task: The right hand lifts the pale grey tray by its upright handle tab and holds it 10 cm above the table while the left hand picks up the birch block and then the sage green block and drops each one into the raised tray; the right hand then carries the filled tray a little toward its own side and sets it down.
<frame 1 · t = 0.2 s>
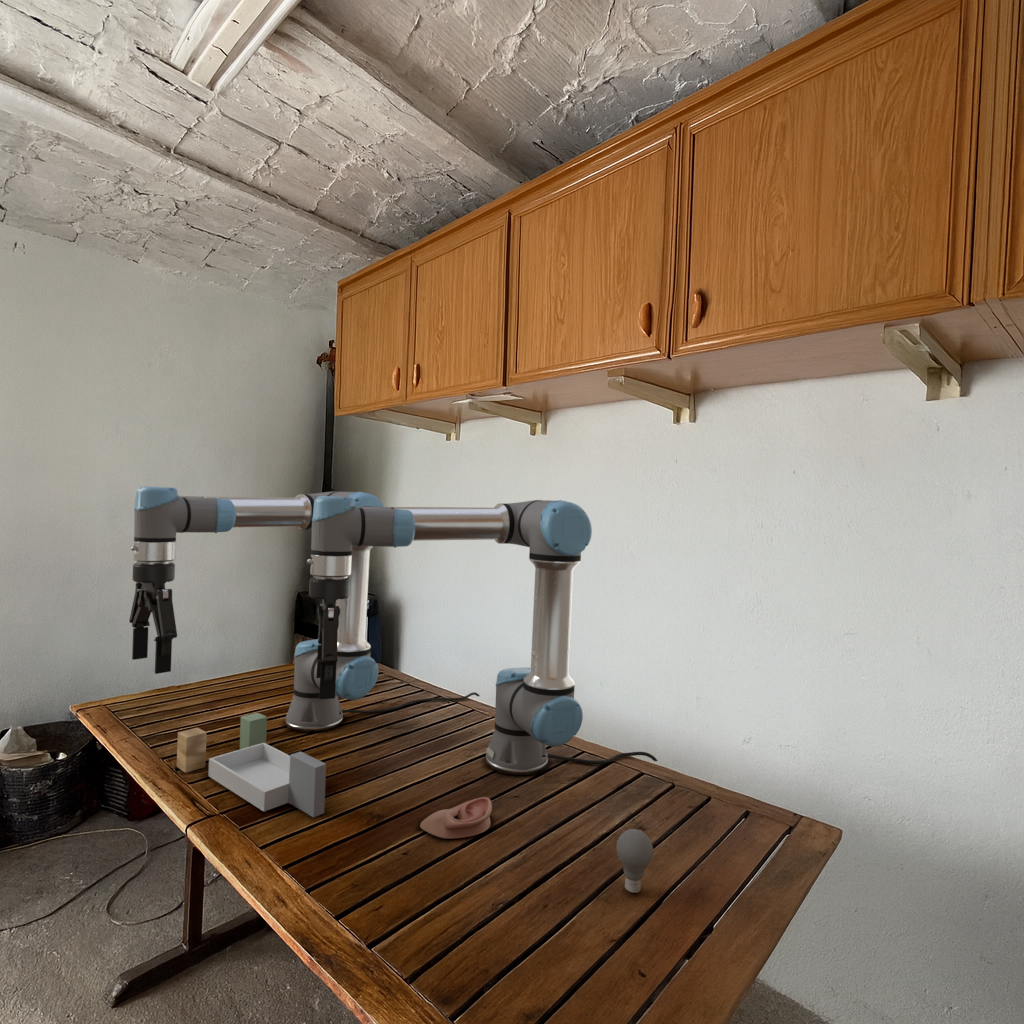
left hand: (150, 665, 130), 27 cm above the table, fingers open, 13 cm apart
right hand: (325, 687, 121), 27 cm above the table, fingers open, 13 cm apart
fossil: (333, 681, 216), on the table
birch block: (191, 767, 145), on the table
sage block: (252, 748, 157), on the table
light bulb: (632, 891, 106), on the table
anatomical model: (456, 825, 125), on the table
tray: (263, 783, 139), on the table
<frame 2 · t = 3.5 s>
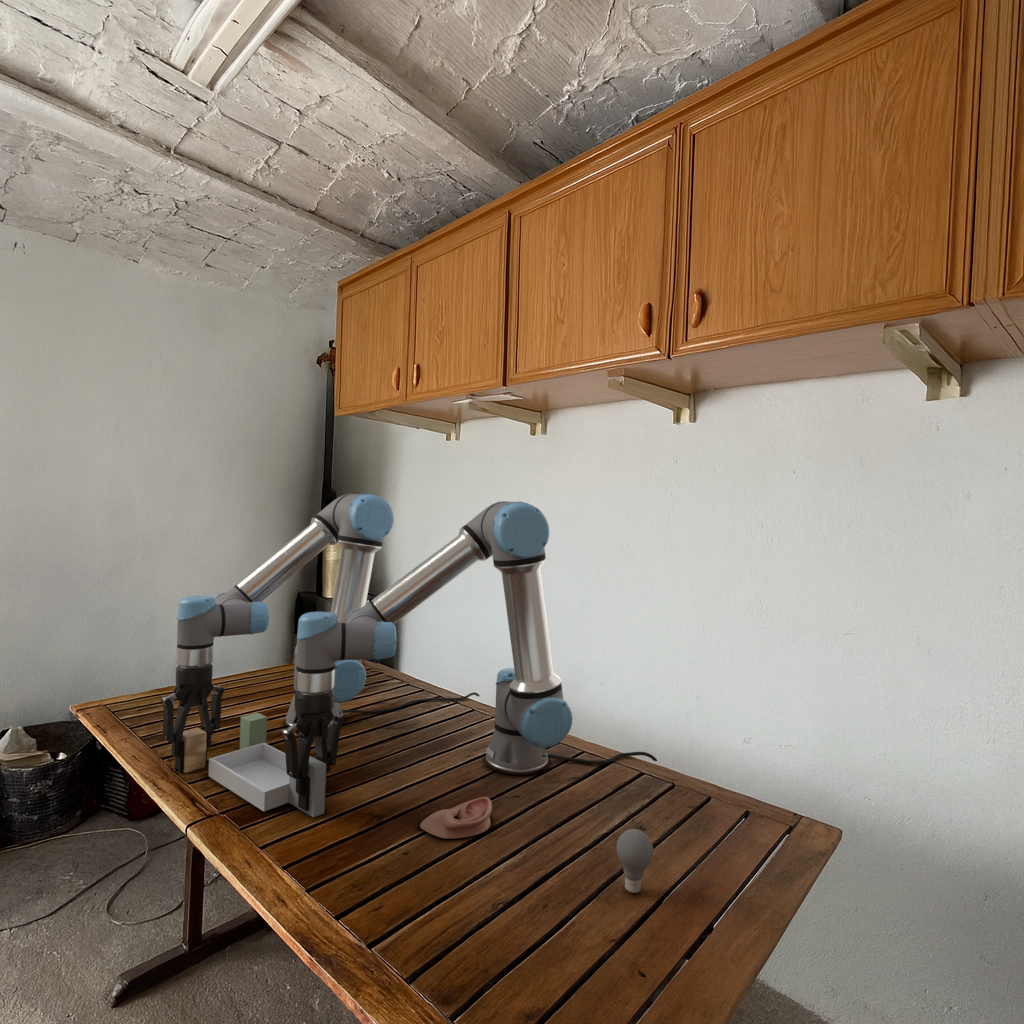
left hand: (191, 765, 145), 0 cm above the table, fingers closed on birch block, 4 cm apart
right hand: (310, 805, 128), 1 cm above the table, fingers closed on tray, 2 cm apart
birch block: (191, 767, 145), on the table, touching left hand
tray: (263, 783, 139), on the table, touching right hand
everything else where it was.
when the left hand's fingers open (18 cm above the table, at t = 7.5 s): birch block drops 8 cm, resting on tray.
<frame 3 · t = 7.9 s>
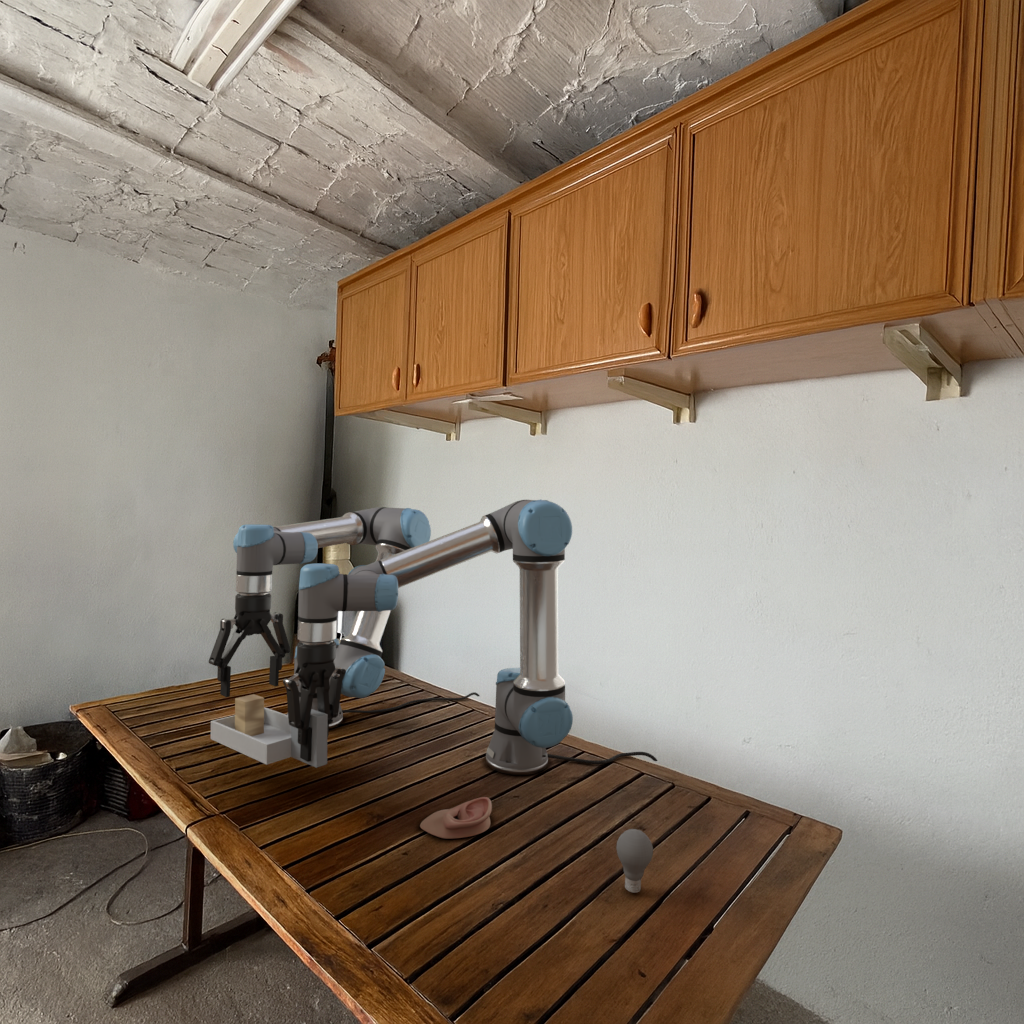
left hand: (250, 690, 143), 19 cm above the table, fingers open, 11 cm apart
right hand: (312, 756, 128), 11 cm above the table, fingers closed on tray, 2 cm apart
birch block: (249, 733, 143), point 9 cm above the table, touching tray
tray: (266, 742, 139), point 9 cm above the table, touching birch block, right hand
everything else where it was.
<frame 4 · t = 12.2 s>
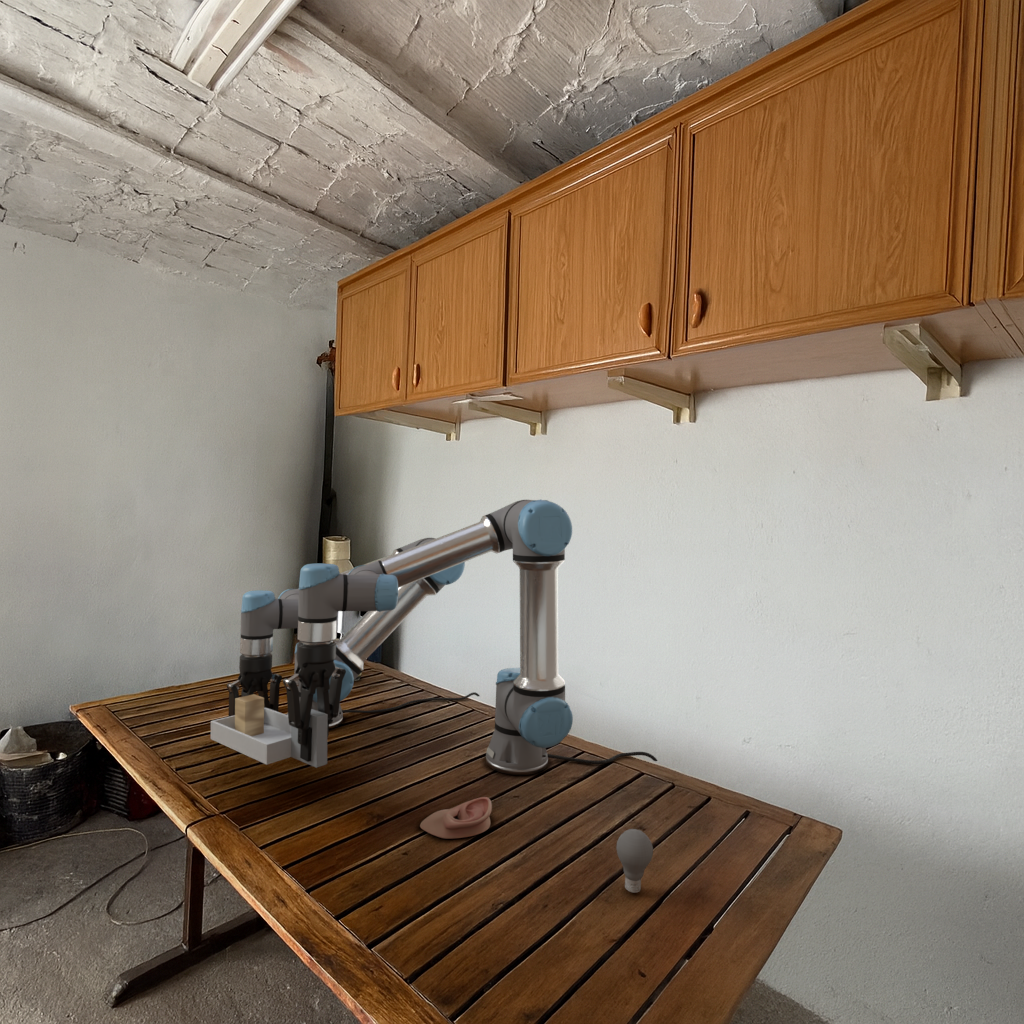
left hand: (252, 747, 157), 0 cm above the table, fingers closed on sage block, 4 cm apart
right hand: (312, 756, 128), 11 cm above the table, fingers closed on tray, 2 cm apart
sage block: (252, 748, 157), on the table, touching left hand
tray: (266, 742, 139), point 9 cm above the table, touching birch block, right hand
everything else where it was.
when the left hand's fingers open (18 cm above the table, at t = 16.2 s): sage block drops 9 cm, resting on tray.
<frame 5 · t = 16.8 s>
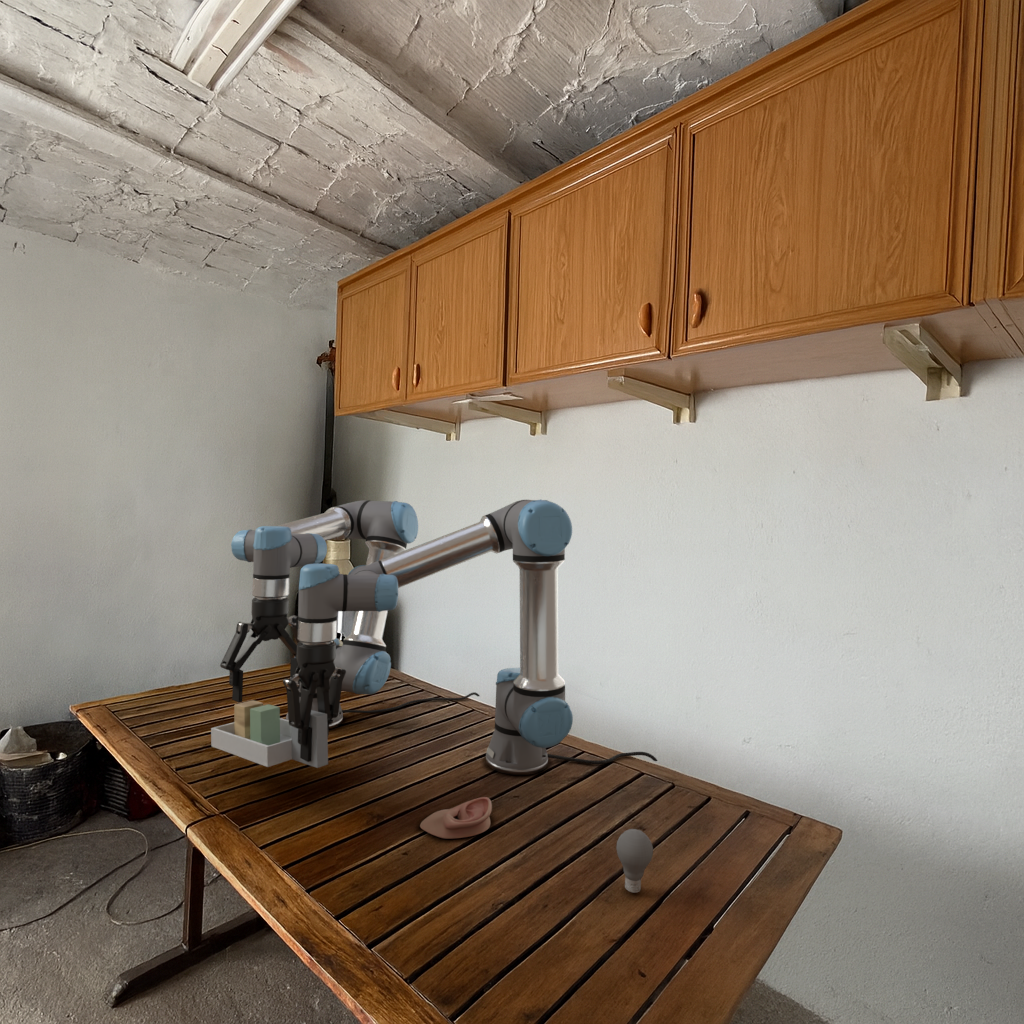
left hand: (266, 694, 139), 20 cm above the table, fingers open, 13 cm apart
right hand: (312, 756, 128), 11 cm above the table, fingers closed on tray, 2 cm apart
birch block: (249, 739, 143), point 8 cm above the table, tilted 6°, touching tray
sage block: (265, 744, 139), point 9 cm above the table, tilted 5°, touching tray
tray: (266, 747, 138), point 8 cm above the table, tilted 6°, touching birch block, right hand, sage block
everything else where it was.
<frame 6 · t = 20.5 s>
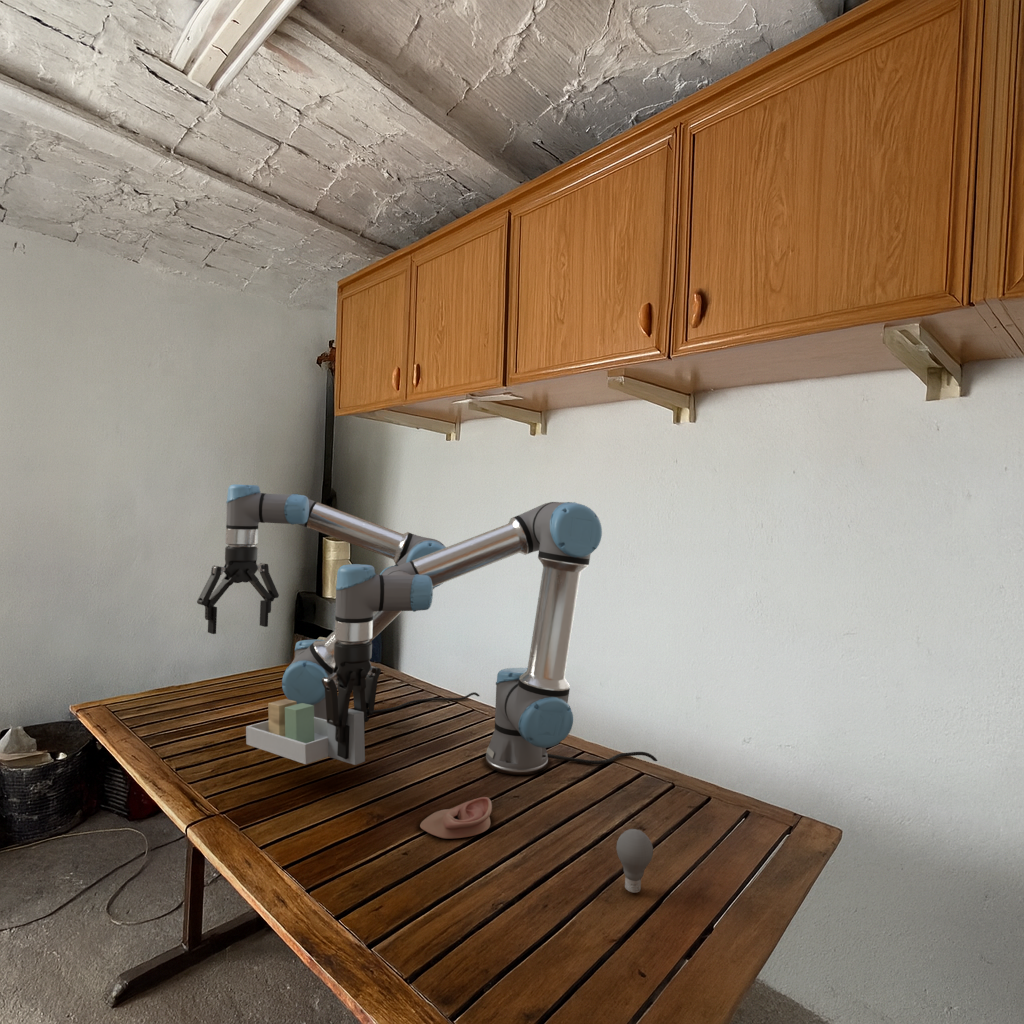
left hand: (238, 629, 160), 29 cm above the table, fingers open, 13 cm apart
right hand: (349, 754, 130), 11 cm above the table, fingers closed on tray, 2 cm apart
birch block: (283, 737, 145), point 8 cm above the table, tilted 6°, touching tray
sage block: (300, 742, 141), point 8 cm above the table, tilted 6°, touching tray
tray: (301, 745, 141), point 8 cm above the table, tilted 6°, touching birch block, right hand, sage block
everything else where it was.
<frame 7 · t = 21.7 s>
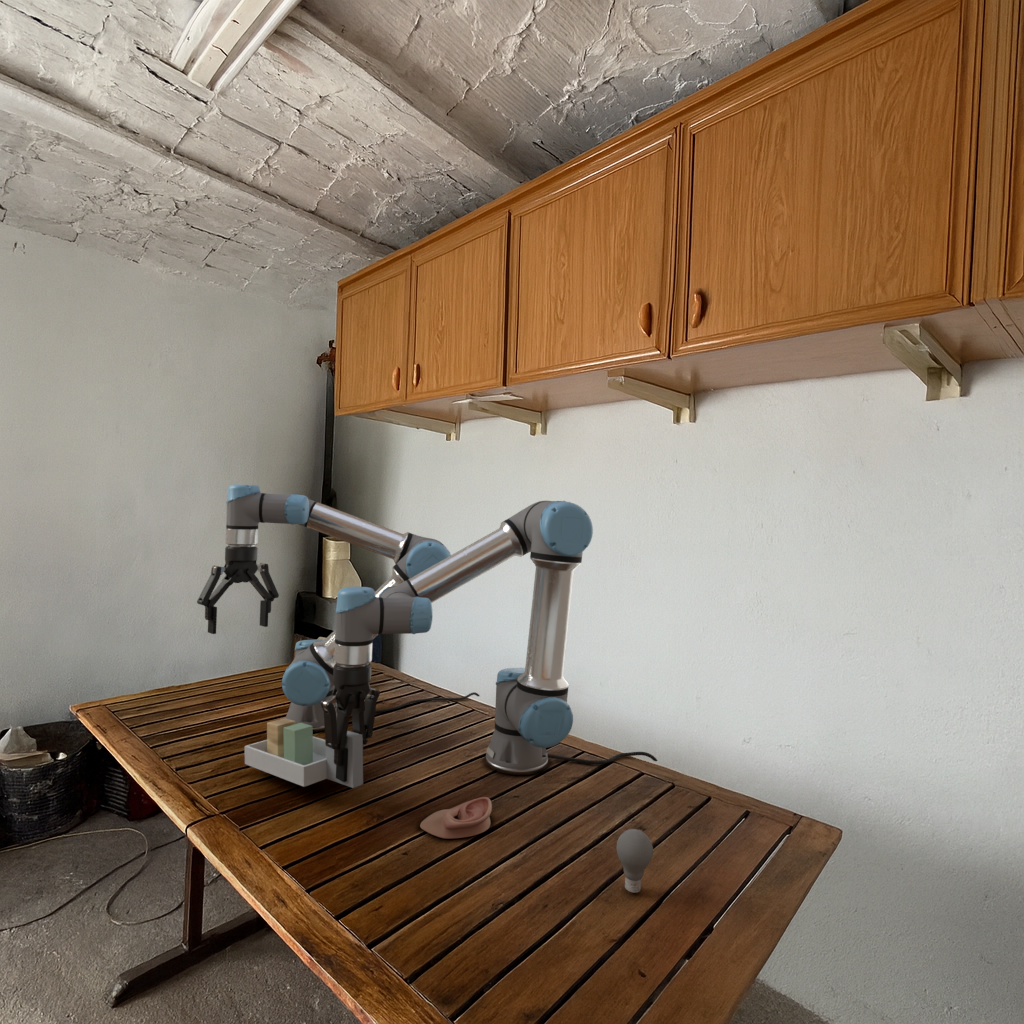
left hand: (238, 629, 160), 29 cm above the table, fingers open, 13 cm apart
right hand: (347, 776, 130), 6 cm above the table, fingers closed on tray, 2 cm apart
birch block: (281, 757, 145), point 3 cm above the table, tilted 5°, touching tray
sage block: (298, 763, 141), point 4 cm above the table, tilted 5°, touching tray
tray: (300, 765, 141), point 3 cm above the table, tilted 5°, touching birch block, right hand, sage block
everything else where it was.
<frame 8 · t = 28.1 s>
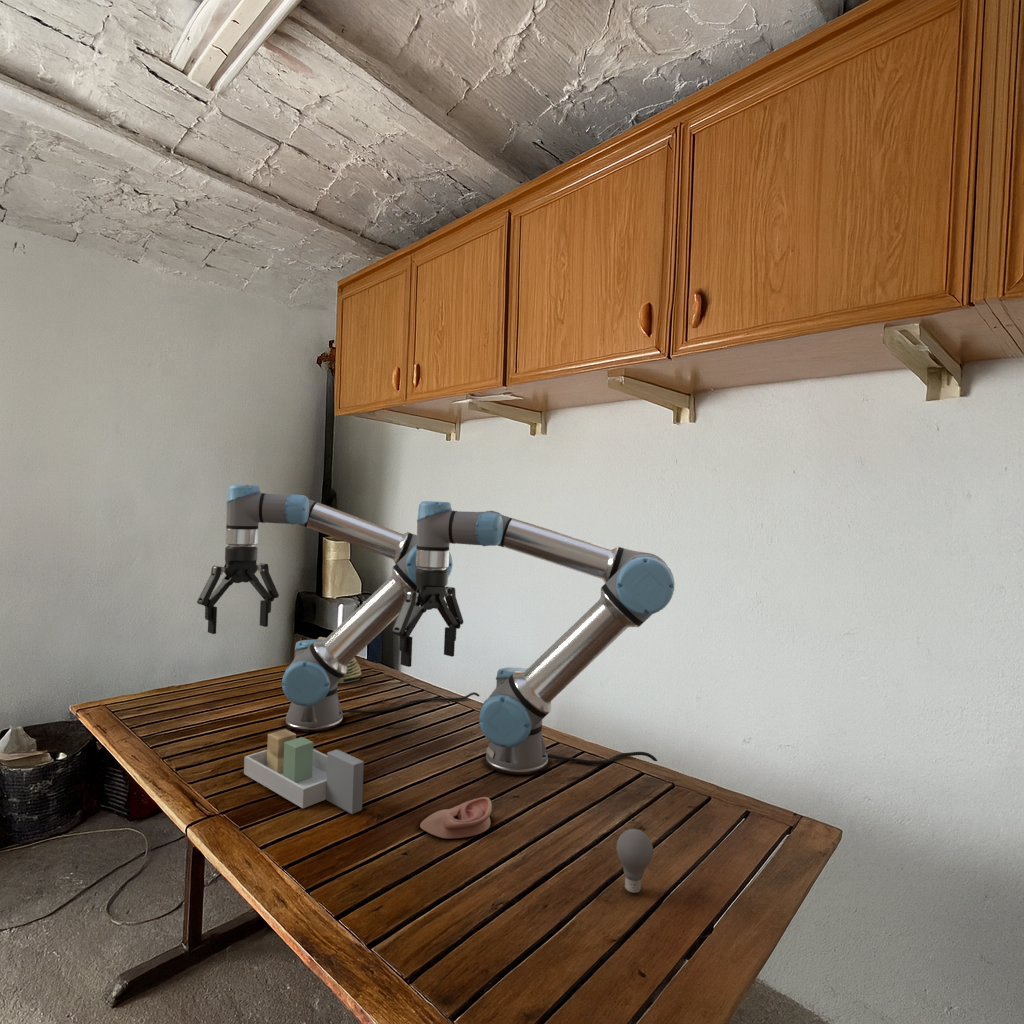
left hand: (238, 629, 160), 29 cm above the table, fingers open, 13 cm apart
right hand: (428, 660, 146), 27 cm above the table, fingers open, 13 cm apart
birch block: (280, 768, 145), resting on tray
sage block: (297, 777, 141), resting on tray
tray: (299, 780, 141), on the table, touching birch block, sage block
everything else where it was.
at the end: birch block inside the target area on the tray (7.3 cm from its centre), point 0.5 cm above the tray's base; sage block inside the target area on the tray (0.6 cm from its centre), point 0.5 cm above the tray's base; tray 0.3 cm from the target spot, on the table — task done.
